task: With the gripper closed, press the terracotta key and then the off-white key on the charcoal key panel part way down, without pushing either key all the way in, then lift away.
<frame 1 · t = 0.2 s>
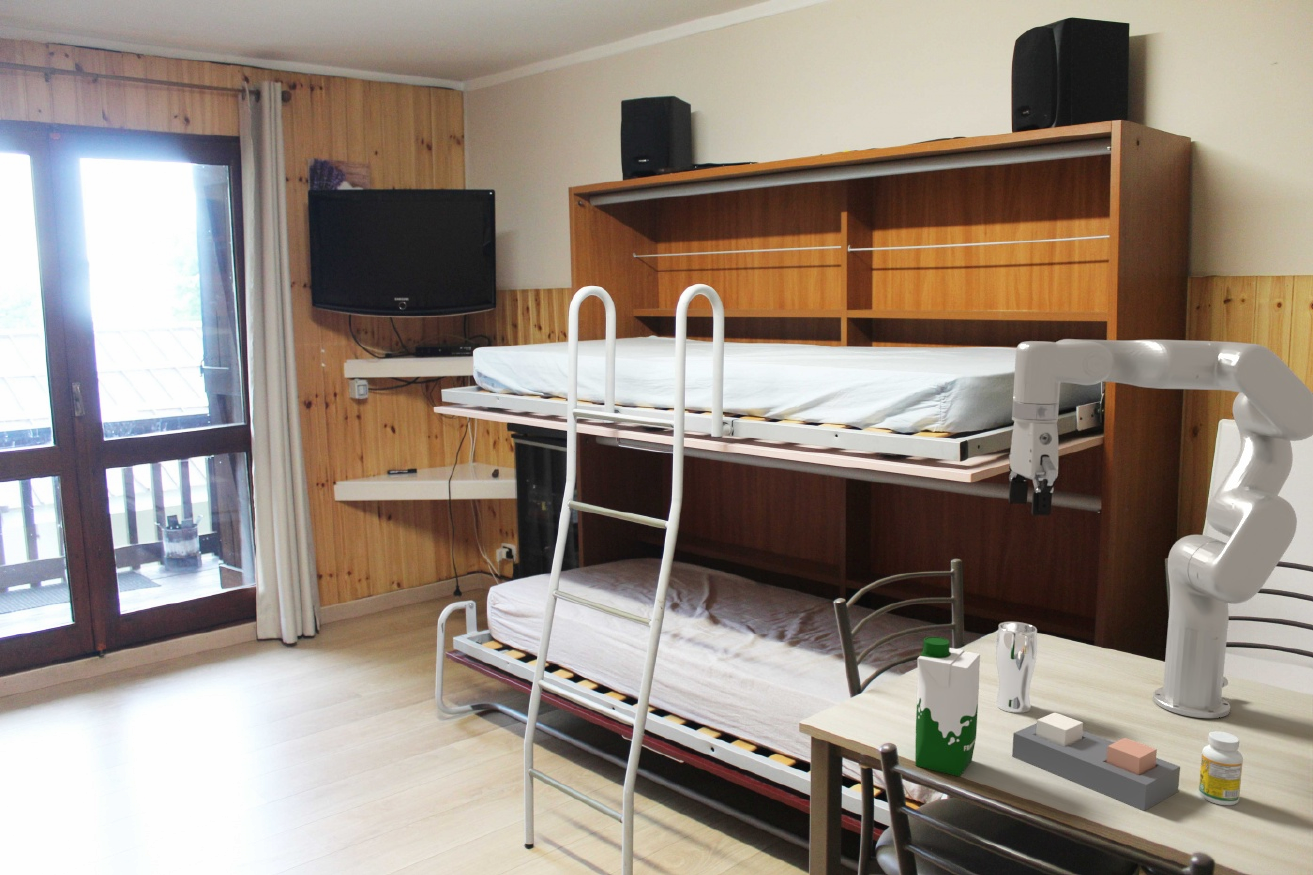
hand: (1029, 508, 181), 37 cm above the table, tool pointing down, fingers open, 9 cm apart
supplement bottle: (1218, 798, 154), on the table
key panel: (1092, 773, 162), on the table
off-white key: (1059, 731, 166), point 5 cm above the table, slide at 0.0 cm
milk carton: (944, 764, 165), on the table
terracotta key: (1131, 758, 156), point 5 cm above the table, slide at 0.0 cm
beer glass: (1012, 707, 188), on the table
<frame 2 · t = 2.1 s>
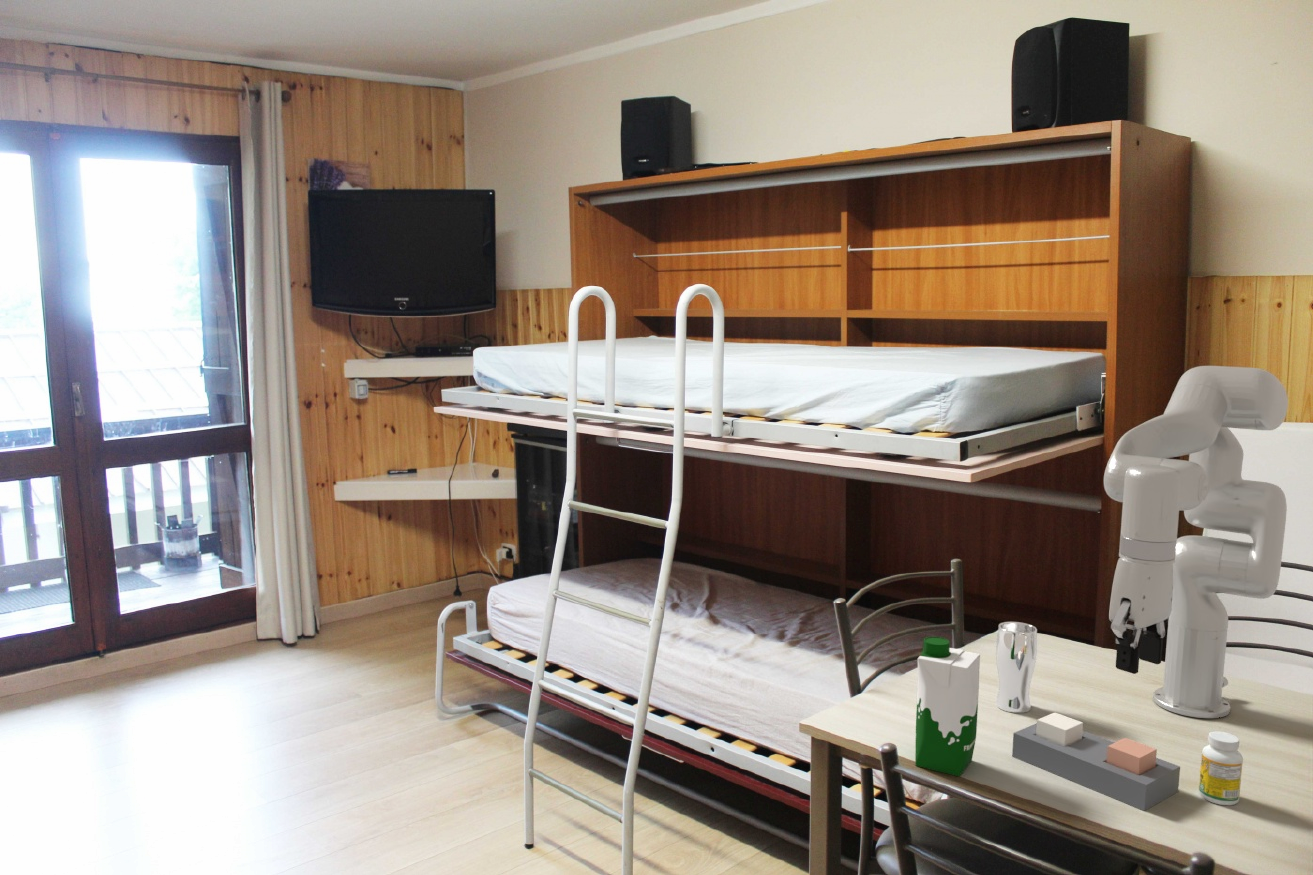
hand: (1138, 665, 154), 20 cm above the table, tool pointing down, fingers open, 5 cm apart
nothing on the table moved.
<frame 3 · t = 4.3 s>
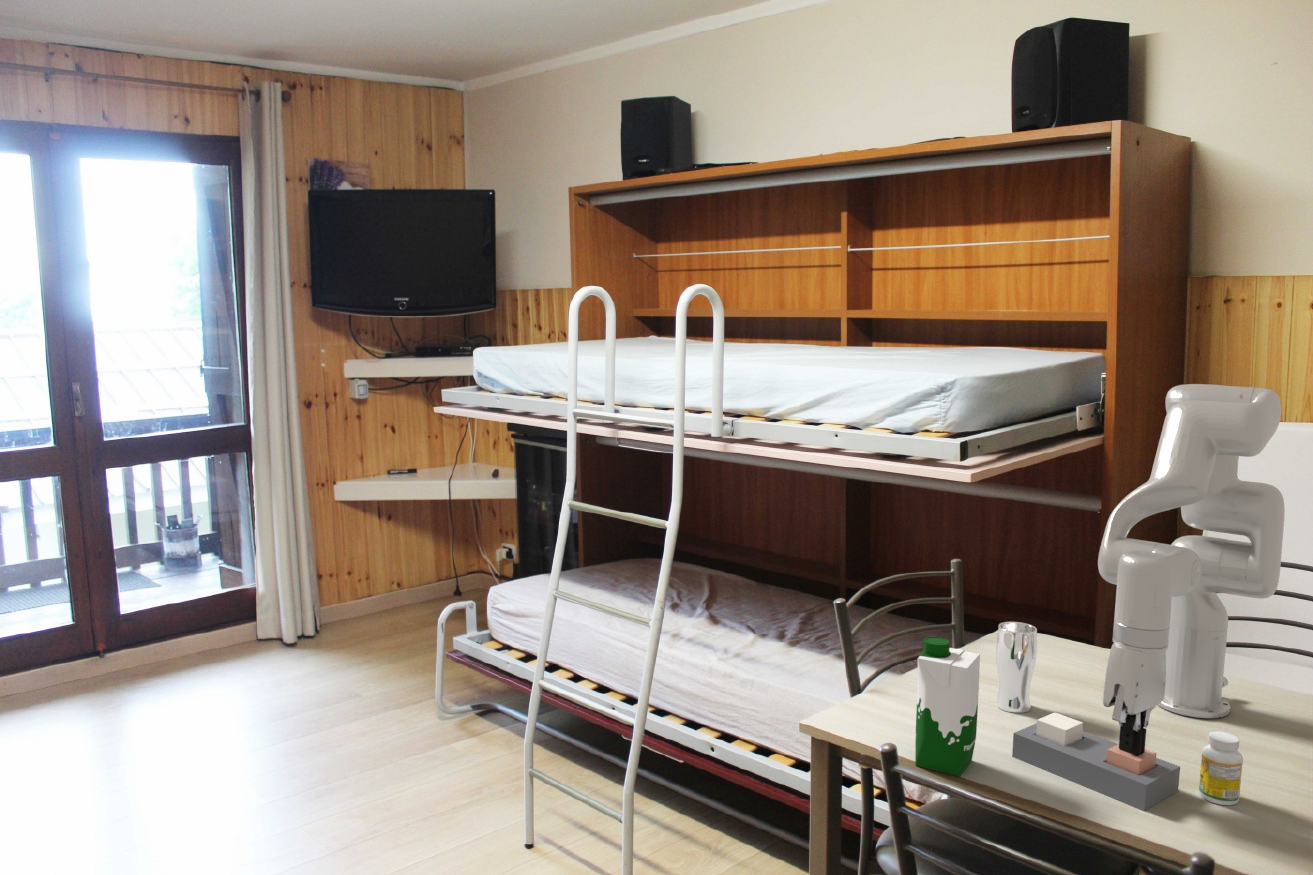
hand: (1131, 751, 156), 6 cm above the table, tool pointing down, fingers closed
terracotta key: (1131, 762, 156), point 4 cm above the table, slide at 0.6 cm, touching gripper
everything else where it was.
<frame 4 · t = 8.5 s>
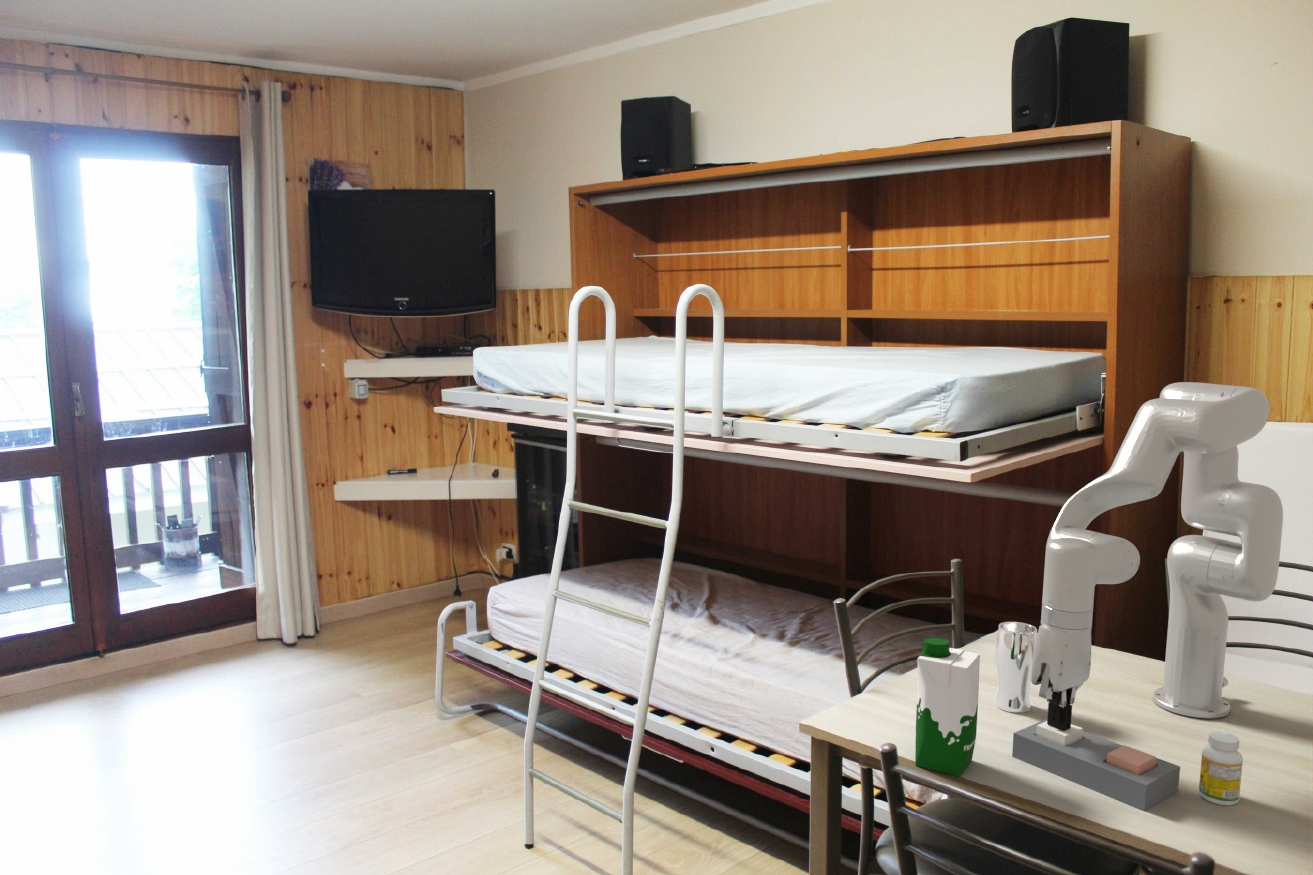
hand: (1058, 726, 166), 6 cm above the table, tool pointing down, fingers closed
off-white key: (1058, 737, 166), point 4 cm above the table, slide at 1.0 cm, touching gripper
terracotta key: (1130, 766, 156), point 4 cm above the table, slide at 1.2 cm
everything else where it was.
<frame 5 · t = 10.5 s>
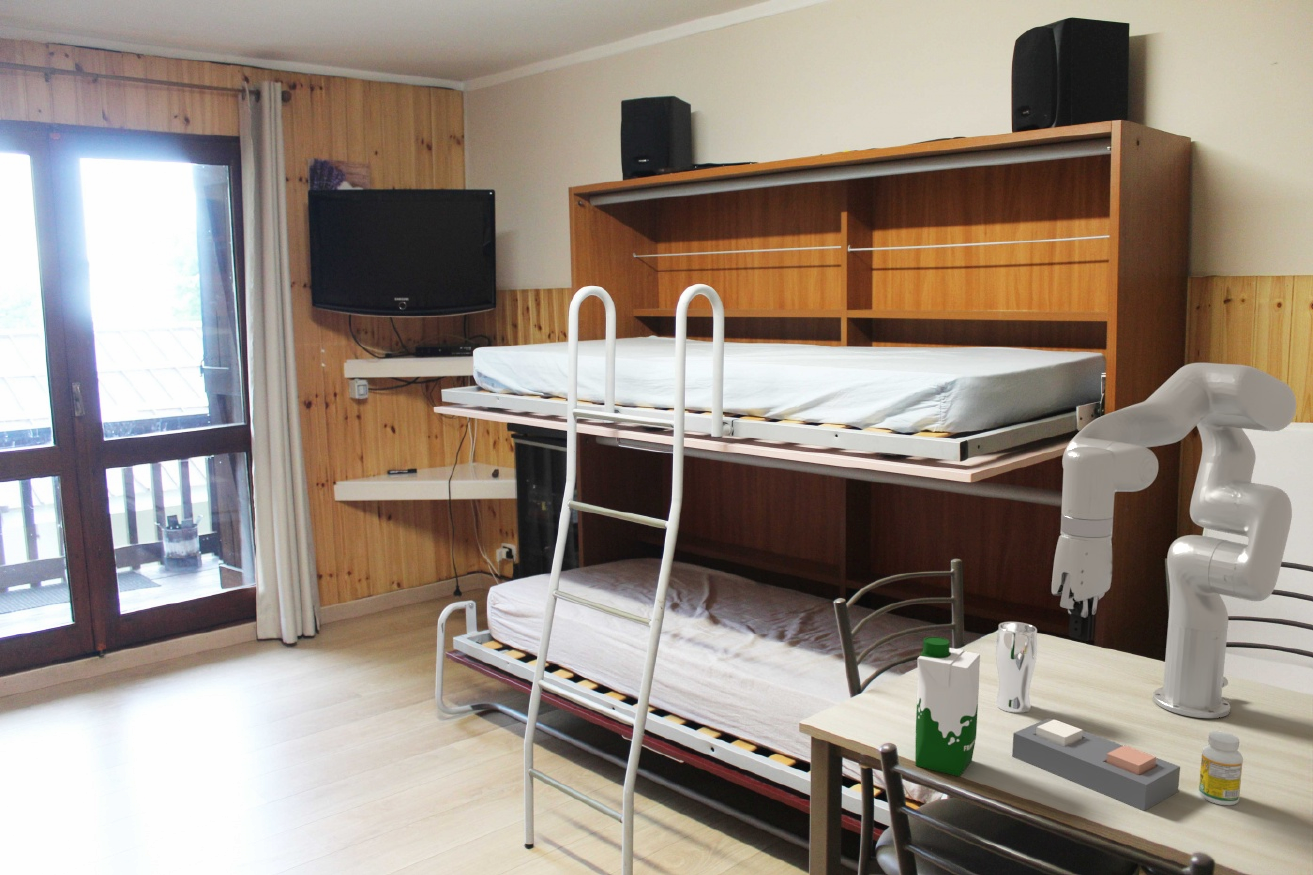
hand: (1080, 637, 165), 20 cm above the table, tool pointing down, fingers closed
off-white key: (1058, 738, 166), point 4 cm above the table, slide at 1.2 cm
everything else where it was.
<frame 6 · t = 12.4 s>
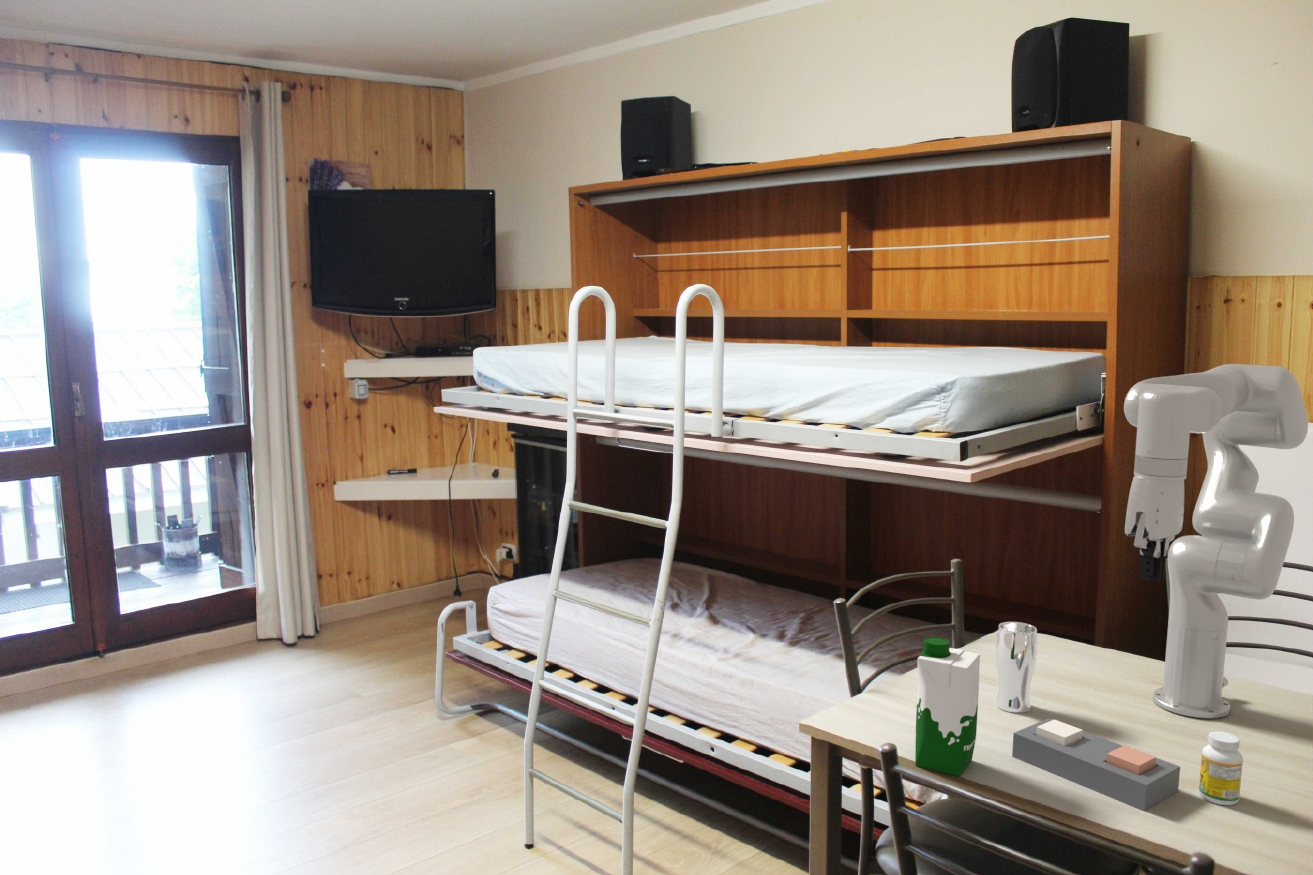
hand: (1151, 579, 166), 29 cm above the table, tool pointing down, fingers closed
nothing on the table moved.
at the end: terracotta key slide at 1.2 cm; off-white key slide at 1.2 cm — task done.
